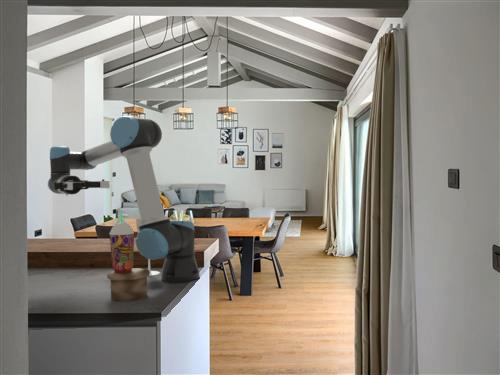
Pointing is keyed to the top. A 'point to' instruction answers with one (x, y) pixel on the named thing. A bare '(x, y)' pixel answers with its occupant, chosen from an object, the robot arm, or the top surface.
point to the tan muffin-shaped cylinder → (129, 284)
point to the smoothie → (122, 247)
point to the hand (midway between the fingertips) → (90, 185)
